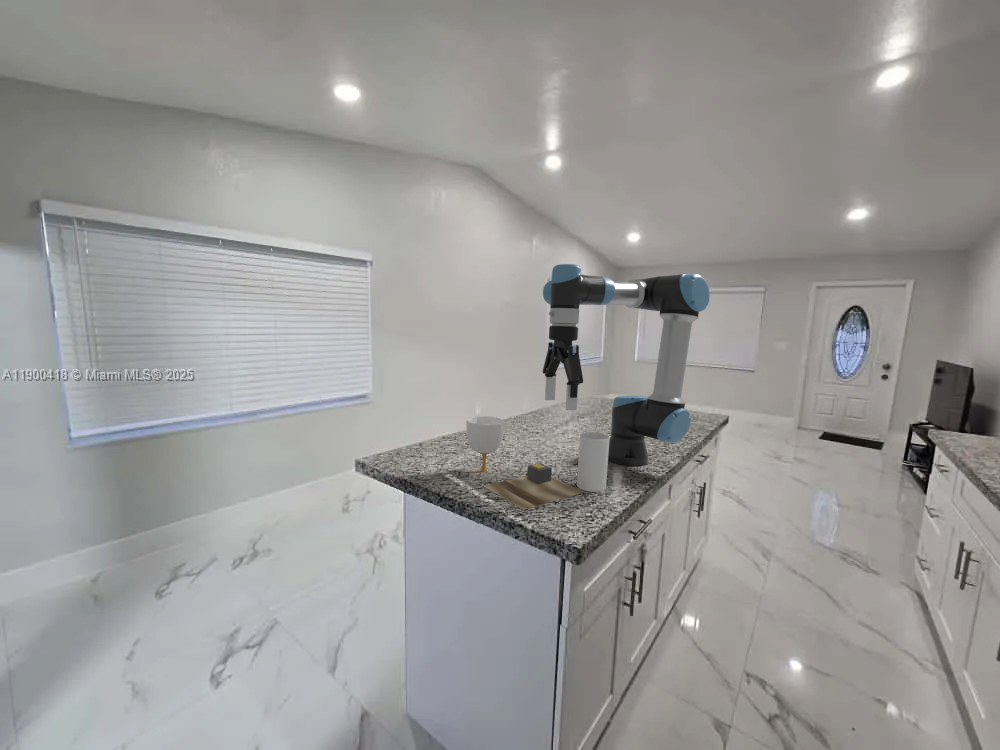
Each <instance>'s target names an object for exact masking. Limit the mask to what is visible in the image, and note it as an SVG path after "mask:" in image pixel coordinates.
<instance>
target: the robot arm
mask: <svg viewBox="0 0 1000 750" xmlns="http://www.w3.org/2000/svg"><path fill="white" fill-rule="evenodd" d="M551 270H552V272H551V278H550V279H551V280H549V281H547V282H546V283H545V284H544V285H543V289H542V296H543V299H544V301H545V302H546V304H548V305H550V308H549V309H550V310H549V312H548V315H549V324H551V325H550V326H549V328H548V339H549V340H551V341H552V342H551V341H549V342H548V344H547V352H546V354H545V355H546V356H545V359H544V363H543V367H542V374H544V377H545V387H544V388H545V392H544V400H545V401H555V400H556V386H557V385H556V382H557V381H556V380H557V378H556V377H557V371H558V369H559V367H560V364H561V363H562V365H563V368H564V371H565V375H566V377H567V382H566V397H565V410H566V411H577V410H578V408H577V407H578V392H579V391H578V390H579V385H580V384H583V383H584V376H583V372H582V370H583V369H582V366H581V360H580V359H581V358H580V346H579V345H578V344H573V342H574V341H577V340H578V339H579V338H578V336H579V335H578V334H579V327H578V326H577V325H579V323H580V322H579V320H580V306H625V307H627V308H629V309H640V310H645V311H646V310H647V311H651V312H653V311H654V312H659V316H660V318H661V319H662V321H663V322H662V329H661V337H660V342H659V350H658V357H657V364H656V372H655V377H654V378H655V379H654V384H653V390H652V391H653V392H652V393H651V394H650V395H649V396H646V395H620V396H616V397H615V398H614V399H613V403H612V411H611V427H610V431H611V432H610V436H609V438H610V439H609V453H608V462H612V463H614V464H617V465H623V466H644V465H647V464H648V463H649V453H648V449H647V445H646V439H645V438H646V437H647V438H651V439H654V440H657V441H660V442H662V443H663V442H664V443H669V444H675V443H679V442H680V441H682V439H683V438H684V437H686V435H687V433H689V429H690V428H691V427H690V426H691V422H692V417H691V413H690V411H688V410H687V409H686V402H685V400H684V399H683V398H682V394H683V393H682V392H683V388H684V387H683V386H684V379H685V375H686V374H685V371H686V365H687V359H688V353H689V346H690V339H691V333H692V332H691V331H692V326H693V324H694V322H695V321H697V320H698V319H699V315H700V313H701V312H702V311H704V310H706V309H707V307H708V306H709V303H710V288H709V285H708V284H707V283H708V282H707V281H706V279H705V278H704V276H702V275H700V274H697V273H683V274H672V275H661V276H652V277H647V278H640V279H635V278H634V279H630V280H628V281H613V280H612V279H611V278H609V277H604V276H603V275H602V276H601V275H600V276H597V275H585V274H583V273H582V267H581V265H578V264H574V263H572V264H571V263H563V264H562V263H560V264H556V265H554V266H553V267H552V269H551Z"/></svg>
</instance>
